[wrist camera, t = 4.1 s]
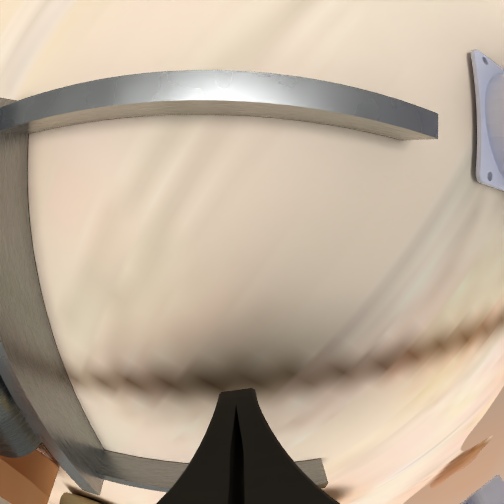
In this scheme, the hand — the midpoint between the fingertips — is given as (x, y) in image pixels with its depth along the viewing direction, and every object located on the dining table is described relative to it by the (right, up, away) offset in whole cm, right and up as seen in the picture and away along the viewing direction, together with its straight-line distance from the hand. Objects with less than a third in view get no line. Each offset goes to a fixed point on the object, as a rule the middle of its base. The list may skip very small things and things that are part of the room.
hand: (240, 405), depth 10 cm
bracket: (-21, -13, -3) cm, 25 cm away
